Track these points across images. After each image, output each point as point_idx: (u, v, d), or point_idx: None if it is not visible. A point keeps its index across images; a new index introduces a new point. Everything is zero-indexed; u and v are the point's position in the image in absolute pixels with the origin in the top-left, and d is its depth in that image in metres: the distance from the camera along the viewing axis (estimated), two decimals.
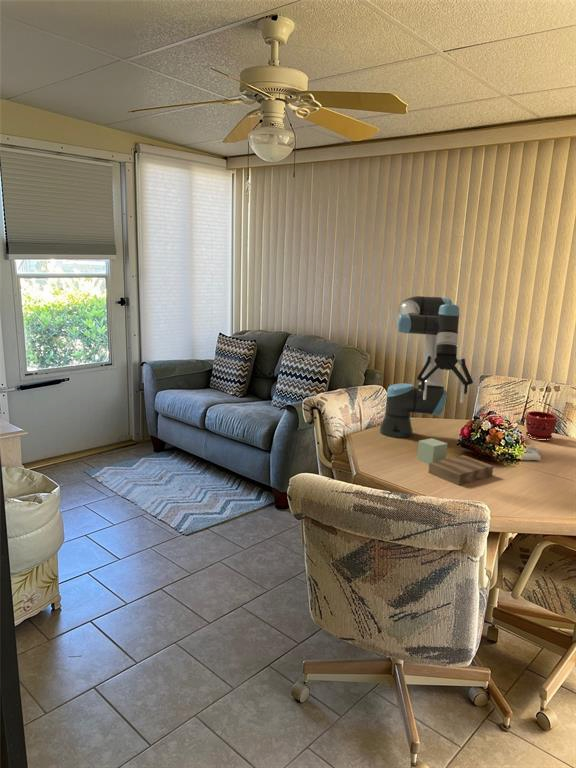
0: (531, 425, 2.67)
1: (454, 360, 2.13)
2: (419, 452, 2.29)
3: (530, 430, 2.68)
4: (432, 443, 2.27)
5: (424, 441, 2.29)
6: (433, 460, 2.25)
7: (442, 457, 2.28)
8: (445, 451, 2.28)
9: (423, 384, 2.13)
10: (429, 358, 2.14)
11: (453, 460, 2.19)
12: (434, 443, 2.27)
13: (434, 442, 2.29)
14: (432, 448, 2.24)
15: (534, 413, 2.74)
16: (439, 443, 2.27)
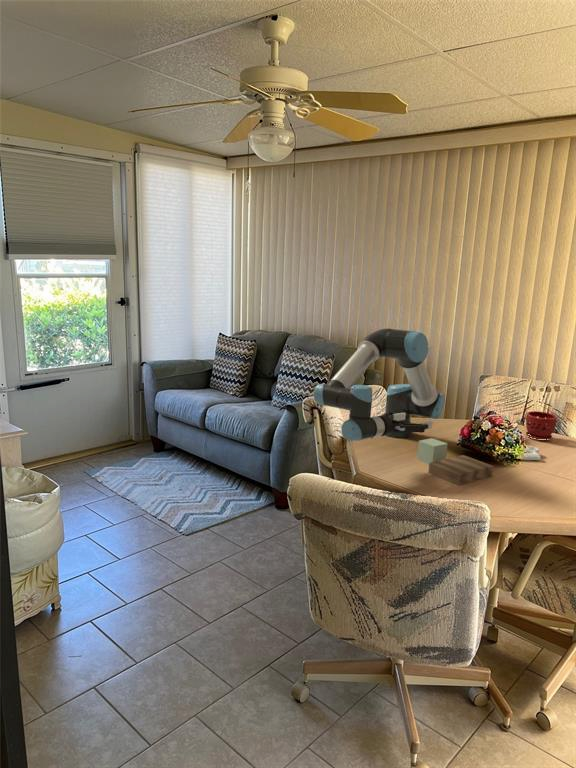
0: (531, 425, 2.67)
1: None
2: (419, 452, 2.29)
3: (530, 430, 2.68)
4: (432, 443, 2.27)
5: (424, 441, 2.29)
6: (433, 460, 2.25)
7: (442, 457, 2.28)
8: (445, 451, 2.28)
9: None
10: None
11: (453, 460, 2.19)
12: (434, 443, 2.27)
13: (434, 442, 2.29)
14: (432, 448, 2.24)
15: (534, 413, 2.74)
16: (439, 443, 2.27)
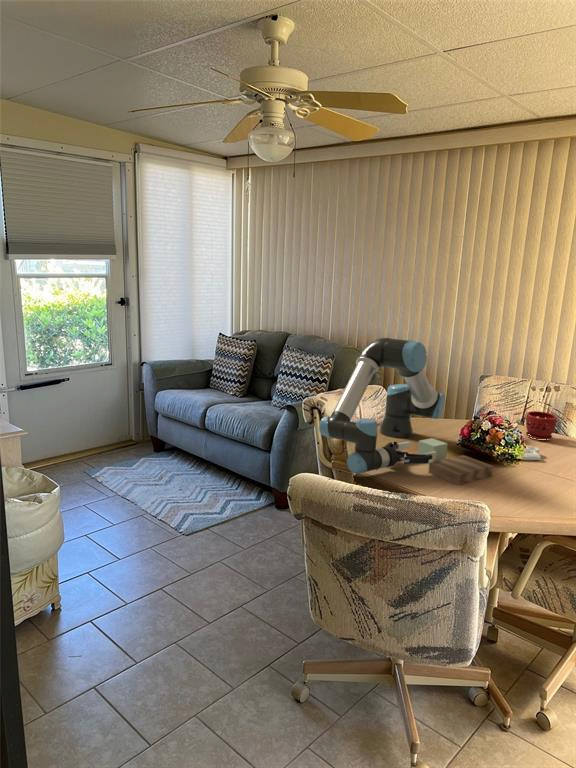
0: (531, 425, 2.67)
1: None
2: (419, 452, 2.29)
3: (530, 430, 2.68)
4: (432, 443, 2.27)
5: (424, 441, 2.29)
6: (433, 460, 2.25)
7: (442, 457, 2.28)
8: (445, 451, 2.28)
9: None
10: None
11: (453, 460, 2.19)
12: (434, 443, 2.27)
13: (434, 442, 2.29)
14: (432, 448, 2.24)
15: (534, 413, 2.74)
16: (439, 443, 2.27)
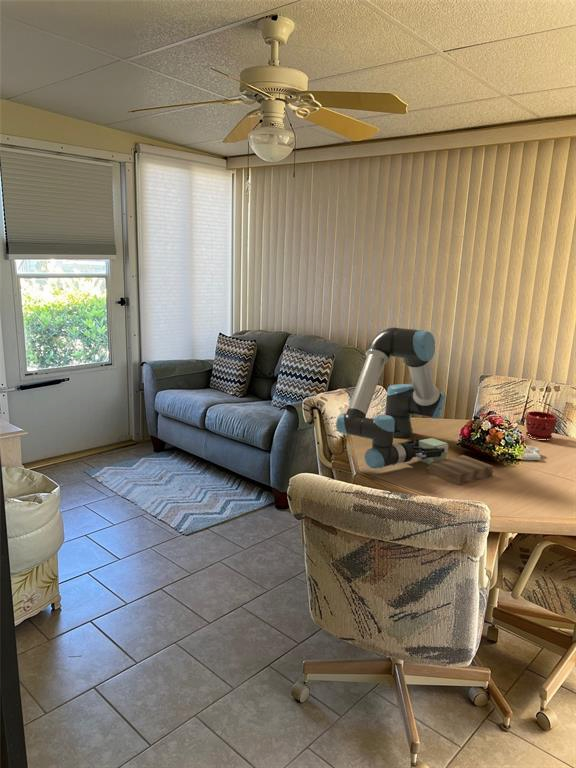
0: (531, 425, 2.67)
1: None
2: None
3: (530, 430, 2.68)
4: (432, 443, 2.27)
5: (424, 441, 2.29)
6: (433, 460, 2.25)
7: (442, 457, 2.28)
8: None
9: None
10: None
11: (453, 460, 2.19)
12: (434, 443, 2.27)
13: (434, 441, 2.29)
14: None
15: (534, 413, 2.74)
16: (439, 443, 2.27)
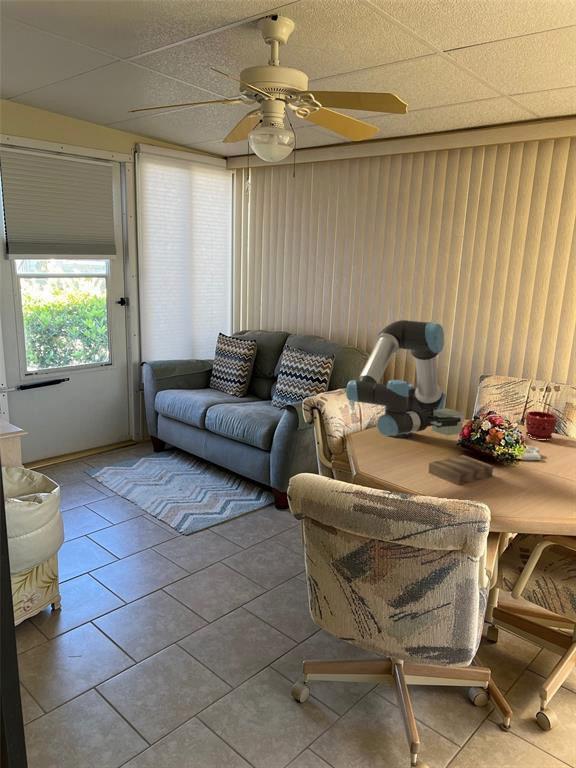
0: (531, 425, 2.67)
1: None
2: None
3: (530, 430, 2.68)
4: (447, 412, 2.17)
5: (439, 410, 2.19)
6: (449, 430, 2.14)
7: (458, 427, 2.17)
8: None
9: None
10: None
11: (453, 460, 2.19)
12: (450, 413, 2.16)
13: (450, 411, 2.19)
14: None
15: (534, 413, 2.74)
16: (455, 412, 2.17)
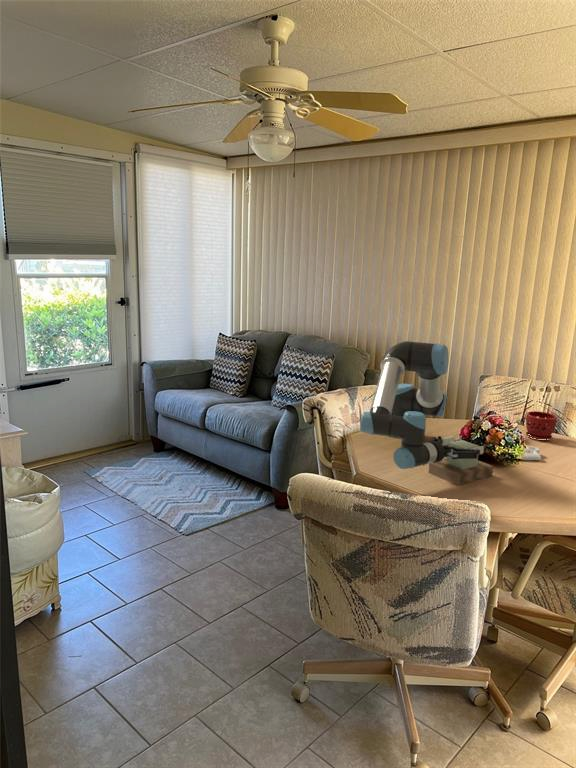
0: (531, 425, 2.67)
1: None
2: None
3: (530, 430, 2.68)
4: (462, 445, 2.12)
5: (454, 443, 2.14)
6: (464, 463, 2.10)
7: (474, 460, 2.13)
8: None
9: None
10: None
11: None
12: (465, 445, 2.12)
13: (465, 444, 2.14)
14: None
15: (534, 413, 2.74)
16: (470, 445, 2.12)
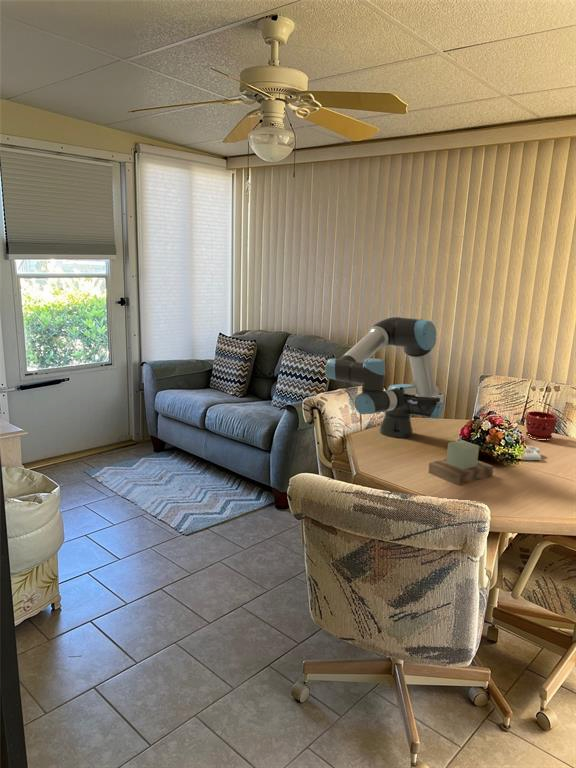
0: (531, 425, 2.67)
1: None
2: (449, 454, 2.15)
3: (530, 430, 2.68)
4: (462, 445, 2.12)
5: (454, 443, 2.14)
6: (464, 463, 2.10)
7: (474, 460, 2.13)
8: (477, 454, 2.13)
9: None
10: None
11: None
12: (465, 445, 2.12)
13: (465, 444, 2.14)
14: (463, 450, 2.09)
15: (534, 413, 2.74)
16: (470, 445, 2.12)
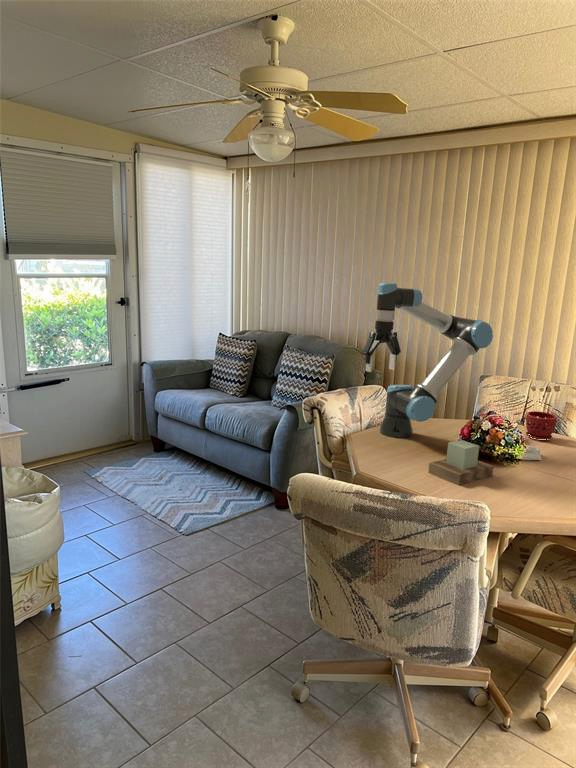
0: (531, 425, 2.67)
1: None
2: (449, 454, 2.15)
3: (530, 430, 2.68)
4: (462, 445, 2.12)
5: (454, 443, 2.14)
6: (464, 463, 2.10)
7: (474, 460, 2.13)
8: (477, 454, 2.13)
9: None
10: None
11: None
12: (465, 445, 2.12)
13: (465, 444, 2.14)
14: (463, 450, 2.09)
15: (534, 413, 2.74)
16: (470, 445, 2.12)
